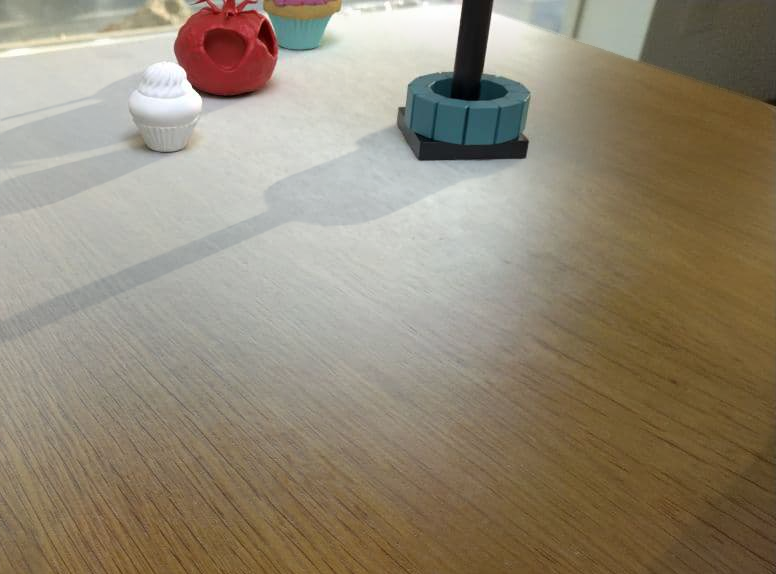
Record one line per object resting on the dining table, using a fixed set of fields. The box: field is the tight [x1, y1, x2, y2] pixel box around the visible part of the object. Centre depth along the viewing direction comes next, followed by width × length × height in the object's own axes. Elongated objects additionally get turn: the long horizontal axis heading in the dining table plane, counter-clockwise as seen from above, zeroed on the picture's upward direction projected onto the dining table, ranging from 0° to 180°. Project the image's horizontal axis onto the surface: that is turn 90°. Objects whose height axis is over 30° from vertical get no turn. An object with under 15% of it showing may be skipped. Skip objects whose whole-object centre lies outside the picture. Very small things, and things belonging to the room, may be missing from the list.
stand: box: [396, 0, 530, 161], centre depth 80 cm, size 9×9×14 cm
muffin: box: [127, 60, 203, 153], centre depth 81 cm, size 6×6×7 cm
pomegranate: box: [173, 0, 279, 97], centre depth 93 cm, size 10×10×9 cm
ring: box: [404, 71, 532, 145], centre depth 82 cm, size 10×10×3 cm
